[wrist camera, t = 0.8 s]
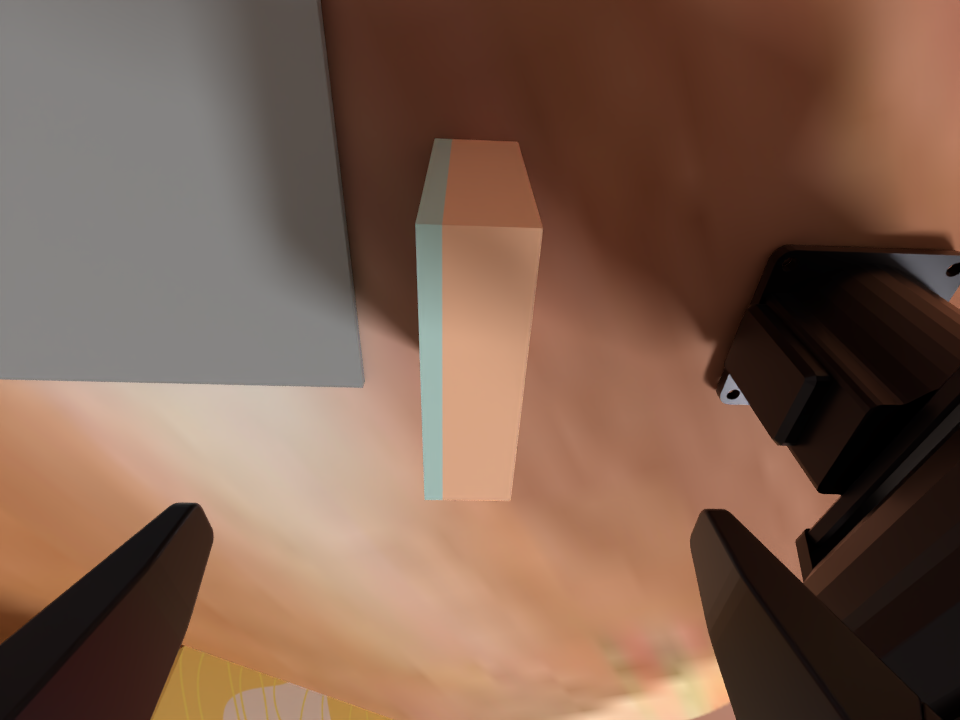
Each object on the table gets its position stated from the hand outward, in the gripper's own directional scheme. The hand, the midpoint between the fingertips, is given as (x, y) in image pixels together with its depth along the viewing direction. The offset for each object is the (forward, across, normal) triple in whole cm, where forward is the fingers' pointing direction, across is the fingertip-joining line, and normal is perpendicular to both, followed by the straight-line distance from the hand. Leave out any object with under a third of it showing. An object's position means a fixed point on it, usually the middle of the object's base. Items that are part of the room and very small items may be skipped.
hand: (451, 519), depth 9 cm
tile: (+10, 0, 0) cm, 10 cm away
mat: (+10, +12, -3) cm, 15 cm away
